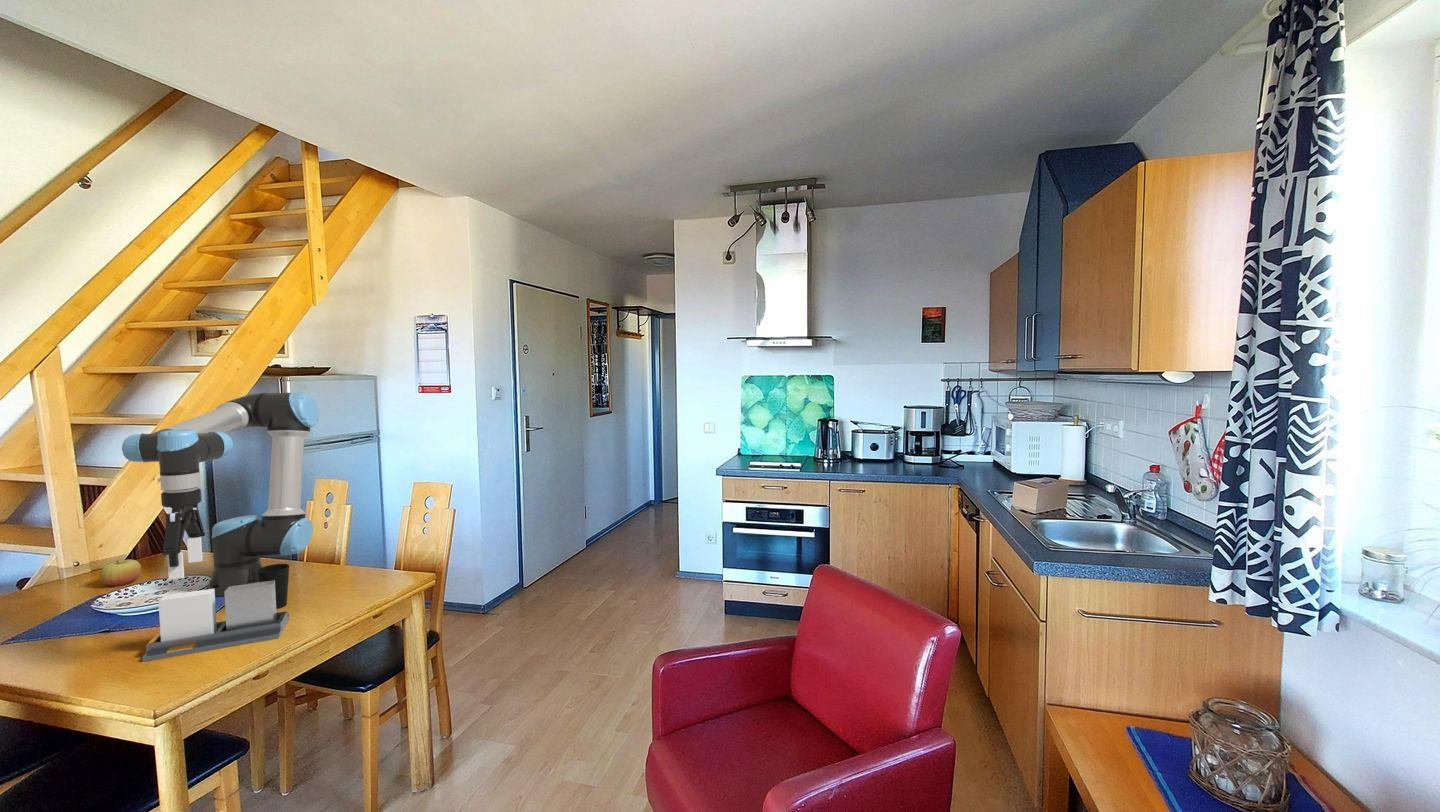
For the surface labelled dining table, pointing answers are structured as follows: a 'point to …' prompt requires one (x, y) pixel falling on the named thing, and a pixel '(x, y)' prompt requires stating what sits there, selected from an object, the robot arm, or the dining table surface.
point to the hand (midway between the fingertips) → (186, 569)
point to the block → (187, 614)
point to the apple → (120, 572)
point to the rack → (231, 623)
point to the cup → (276, 581)
